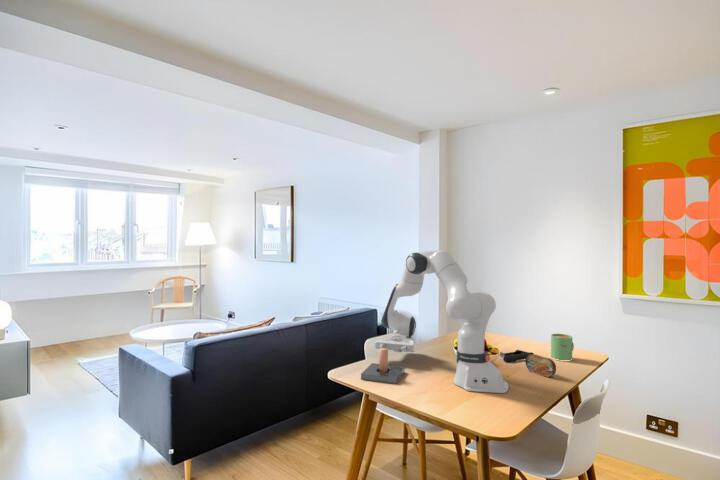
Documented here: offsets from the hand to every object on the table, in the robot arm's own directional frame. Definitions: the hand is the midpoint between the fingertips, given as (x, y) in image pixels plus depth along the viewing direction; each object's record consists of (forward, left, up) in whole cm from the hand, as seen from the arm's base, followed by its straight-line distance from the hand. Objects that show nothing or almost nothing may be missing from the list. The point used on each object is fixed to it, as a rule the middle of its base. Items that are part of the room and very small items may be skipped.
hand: (391, 349), depth 192 cm
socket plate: (0, +13, -9) cm, 15 cm away
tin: (-68, -16, -9) cm, 70 cm away
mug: (-82, -47, -9) cm, 95 cm away
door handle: (-56, -40, -9) cm, 69 cm away
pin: (0, +13, -9) cm, 15 cm away
